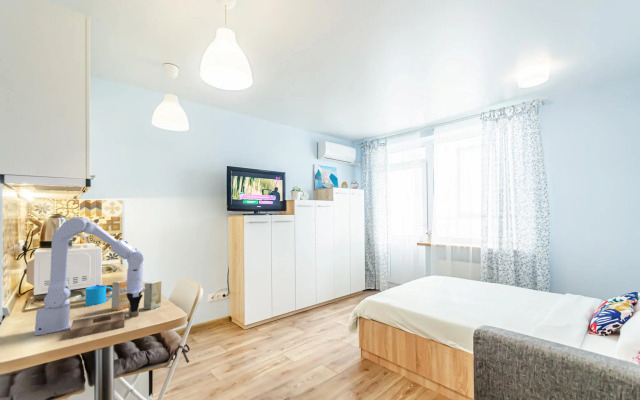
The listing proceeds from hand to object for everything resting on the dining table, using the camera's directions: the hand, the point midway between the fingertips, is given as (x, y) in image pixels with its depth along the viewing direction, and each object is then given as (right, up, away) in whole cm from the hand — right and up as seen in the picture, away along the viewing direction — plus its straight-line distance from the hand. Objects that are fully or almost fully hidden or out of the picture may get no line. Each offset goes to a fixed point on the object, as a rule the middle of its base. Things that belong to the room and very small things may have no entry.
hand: (134, 310), depth 122 cm
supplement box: (-13, -4, +11) cm, 17 cm away
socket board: (-5, -2, -13) cm, 14 cm away
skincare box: (+1, -3, +11) cm, 12 cm away
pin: (0, -2, 0) cm, 2 cm away
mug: (-32, -5, +21) cm, 38 cm away
